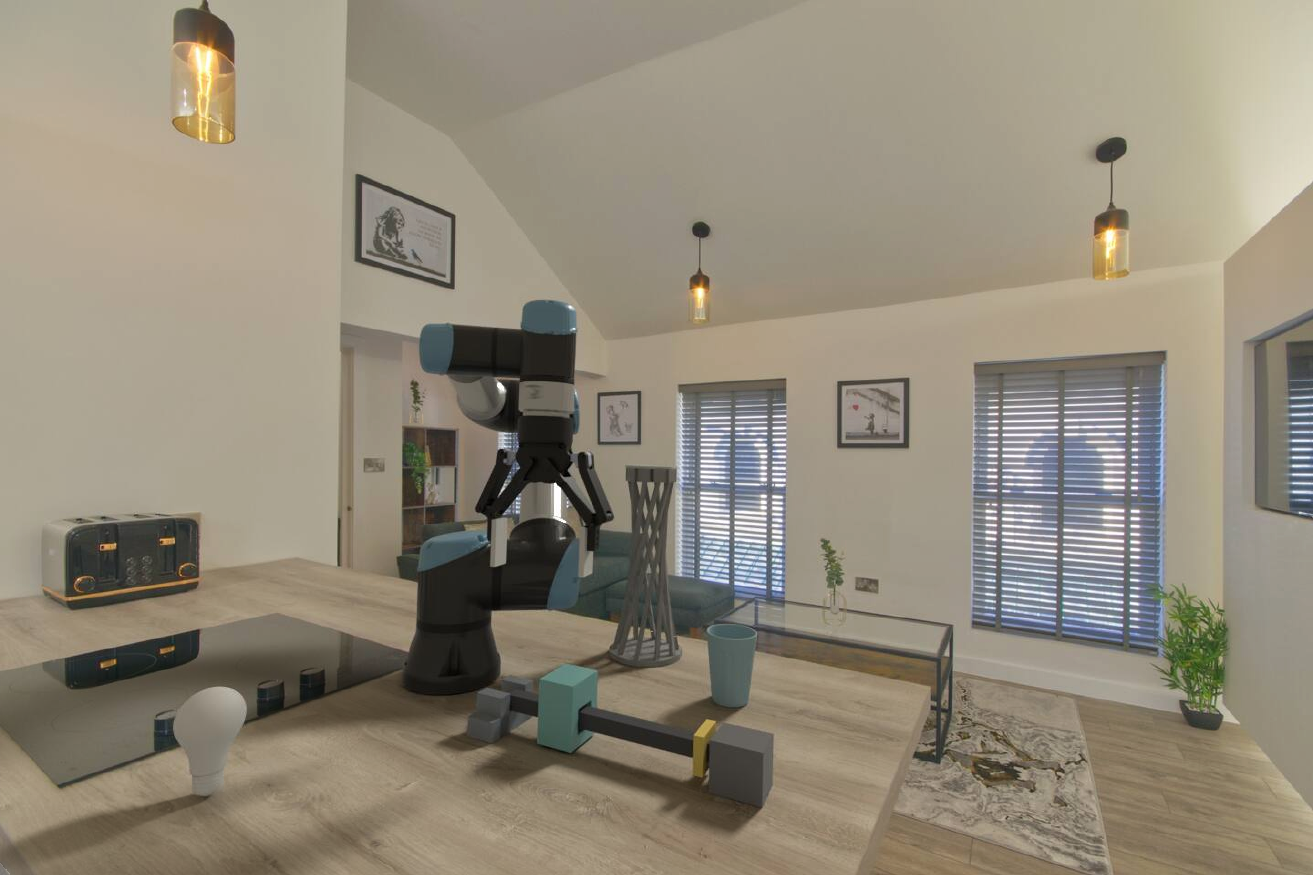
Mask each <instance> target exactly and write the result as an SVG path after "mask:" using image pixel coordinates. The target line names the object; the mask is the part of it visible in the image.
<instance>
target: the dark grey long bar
mask: <svg viewBox="0 0 1313 875" xmlns="http://www.w3.org/2000/svg"><path fill="white" fill-rule="evenodd" d="M538 704H539V693H537V692H533V693H532V692H528V691H524V690H520V689H515V690H514V691H512V692H510V710H511V711H515V712H519V713H522V714H526V715H530V716H532V717H535V718H538ZM578 728H580V729H584V730H587V731H591V732H595V733H596V734H600V735H603V736H608V737H610V738H615V739H618V740H622V741H627V742H630V743H634V744H637V745H640V746H641V745H642V746H645V747H649V748H653V749H656V750H661V751H665V752H668V753H672V754H676V755H680V756H684V757H687V758H690V759H692V776H695V777H698V778H704V777H705V775H706V774H707V772H709V756H710V739H711V738H712V737H713V735H714V734H715V733H716V731H717V721H716V720H711V719H705V721H703V722H702V724H701V725H700V727H699V728H698V729H697V730H696V731H694V730H690V729H685V728H681V727H676V726H672V725H669V724H664V723H660V722H657V721H652V720H648V719H643V718H639V717H635V716H630V715H627V714H623V713H618V712H615V711H611V710H607V709H602V708H598V707H597V708H594V707H590V706H586V705H584V706H582V707H581V708H580V709H578ZM595 733H594V734H595Z"/></svg>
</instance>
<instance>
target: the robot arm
mask: <svg viewBox="0 0 1313 875" xmlns="http://www.w3.org/2000/svg"><path fill="white" fill-rule="evenodd" d="M521 313H522V314H521V321H520V325H519V326H520V328H505V327H493V326H491V327H490V326H481V325H479V326H477V325H470V324H469V325H466V324H455V323H454V324H453V323H449V322H446V323H427V324H425V325H424V326H423V327H422V329H421V332H420V335H419V340H418V341H419V342H418V343H419V344H418V354H419V356H418V357H419V362H420V363H419V364H420V367H421V369H422V370H423V372H425V373H427V374H430V375H431V374H432V375H438V376H447V378H448V380H449V381H450V383H451V385H452V387H453V388H454V390H455V391H454V392H456V396H455V397H456V403H457V406H458V408H459V410H460V412H461V413H462V414H463V415H464V416H465V417H466V418H467V419H468V420H470V421H471V422H473V423H474V424H477V425H478V426H480V427H482V428H486V429H488V430H491V431H495V432H499V433H508V434H509V433H510V434H516V436H517V437H516V439H517V442H518V448H517V450H514V449H512V448H499V449H497V452H496V457H495V458H496V459H495V465H494V466H493V469H492V472H491V473H490V474H489V475H490V476H489V477H488V480H487V481H486V484H485V486H484V488H483V489H482V492H481V494H480V496H479V498H478V500H477V503H476V505H475V507H474V509H475V510H474V511H475V512H476V514H481V515H483V516H485V517H486V520H487V526H486V527H487V528H486V529H472V530H471V529H470V530H469V529H468V530H462V531H456V532H451V533H445V534H442V535H441V534H440V535H437V536H433V537H431V538H429V539H427V540H425V541H424V542H423V543H422V544H421V547H420V550H419V558H418V566H417V568H416V572H417V595H416V625H415V633H414V635H413V638H412V640H411V644H410V647H409V650H408V654H407V658H406V659H405V660H404V662H403V664H402V670H401V673H402V674H401V685H402V686H403V687H404V688H406V689H407V690H409V691H412V692H414V693H419V694H424V695H451V694H452V695H453V694H454V695H455V694H461V693H466V692H470V691H474V690H478V689H481V688H483V687H485V686H488V685H490V684H492V683H493V682H495V681H496V680H497V679H498V678H499V677H500V675H501V670H502V669H501V668H502V665H501V663H502V662H501V660H502V658H501V656H500V653H499V652H498V647H497V645H496V644H497V643H496V640H495V636H494V632H493V628H492V617H493V616H492V614H493V613H492V612H499V611H500V612H502V611H503V612H504V611H505V612H506V611H507V612H508V611H511V612H512V611H514V612H515V611H545V610H546V611H548V612H552V611H554V610H565V609H571V608H573V606H575V605H576V604H577V602H578V599H579V594H580V593H579V592H580V586H581V584H580V583H581V578H585V577H588V576H590V575H592V574H593V569H594V568H593V566H594V552H596V551H598V550H599V547H600V536H601V533H600V531H601V526H602V525H603V524H606V523H607V524H608V523H609V522H612V521H614V518H615V516H614V512H613V510H612V507H611V505H610V503H609V500H608V497H607V495H606V492H605V490H604V487H603V485H602V484H601V481H600V478H599V476H598V473H597V471H596V469H595V456H594V453H593V452H592V451H580V452H578V453H574V452H573V450H572V447H573V446H572V444H573V441H574V440H573V439H574V435H577V434H578V433H579V429H580V420H581V414H580V413H581V412H580V401H579V394H578V392H577V388H576V387H575V371H576V370H575V369H576V356H577V355H576V354H577V352H576V351H577V333H578V329H579V328H578V326H577V324H578V323H577V310H576V308H575V307H574V306H573V305H572V304H570V303H567V302H565V301H561V300H555V299H553V300H552V299H535V300H529V301H527V302H526V303H524V305H523V306H522V312H521ZM503 378H504V379H503ZM515 463H517V465H518V466H519V468H518V469H517V471H516V472H515V473H514V474H513V476H512V477H511V480H510V482H509V483H508V484H507V486H505V488H504V489H503V487H504V485H505V483H506V481H507V479H508V477H509V475H510V472H511V470H512V468H513V465H515ZM573 464H574V466H575V468H577V469H578V472H579V476H580V478H581V480H582V483H583V486H584V487H585V490H586V493H587V495H588V498H589V499H588V498H587V496H586V495H585V493H584V492H583V491H582V489H581V487H580V486H579V485H578V483H577V482H576V478H575V476H574V475H573V474H572V472H571V471H570V468H571V467H572V465H573ZM519 495H520V501H519V502H520V503H519V504H520V506H519V518H518V519H519V520H518V523H516V524H515V526H513V527H512V528H511V531H510V533H509V537H508V519H509V518H508V517H504V516H505V513H506V512H507V510H508V509H509V508H510V506H511V505H513V503H514V501H515V500H516V499H517V498H518V496H519ZM568 500H569V502H570V504H571V505H572V507H573V508H574V510H575V511H576V512H577V515H579V517H580V518H581V520H582V521H583V522H584V524H585V525H583V526H580V527H579V537H577V535H576V531H575V529H574V527H573V526H572V525H571V524H570V523H569V522H568V507H567V506H568Z"/></svg>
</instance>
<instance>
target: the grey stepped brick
mask: <svg viewBox="0 0 1313 875" xmlns="http://www.w3.org/2000/svg"><path fill="white" fill-rule="evenodd" d="M515 689H520V690H524V691H528V692H532V693H534V680H533V679H529V678H524V677H521V676H516V675H511V674H510V675H508V676H506V677H504V678H503V679H501V690H497V689H494V688H489V687H485V688H483V689H481V690H479V691H477V693H476V712H474V713H471V714H470V715H469V716H467V731H466V732H467V733H466V737H469V738H472V739H475V740H478V741H481V742H484V743H485V742H486V743H488V744H493V743H495V742H496V741H498V740H499V739H500V738H503V736H505V735H507V734H508V733H510V732H511V731H513V730H514V729H516V728H517V727H519V726H520V725H521V724H523V723H524V722H526V721H528V720H529V719H531V718H532V717H533V716H530V715H526V714H522V713H519V712H515V711H511V710H510V692H512V691H514V690H515Z"/></svg>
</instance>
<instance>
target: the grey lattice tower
mask: <svg viewBox="0 0 1313 875" xmlns="http://www.w3.org/2000/svg"><path fill="white" fill-rule="evenodd" d="M624 467H625V482H627V484H628V485H627V486H628V491H629V497H630V507H631V509H630V511H631V513H630V514H631V554H630V560H629V566H628V567H629V568H628V573H627V579H626V580H627V581H626V585H625V586H626V587H625V593H624V599H623V605H622V609H621V613H620V617H619V620H618V624H617V628H616V632H615V636H614V641H613V643H611V645H610V646H609V648H608V649H609V650H608V651H609V658H611V659H613V660H615V661H617V663H618V662H619V664H620V663H621V665H626V666H631V667H637V668H638V667H639V668H655V667H662V666H669V665H672V664H674V663H677V662H679V661H680V660H681V658H682V656H683V648H682V647H681V645H680V644H679V641H678V636H677V631H676V626H675V622H674V621H675V620H674V617H673V611H672V610H673V609H672V606H671V595H670V594H671V593H670V585H669V584H670V583H669V575H668V562H667V554H666V553H667V540H668V539H667V536H668V519H669V516H668V515H669V508H670V503H671V499H672V498H671V497H672V493H673V487H674V483H677V477H678V476H677V473H678V471H677V469H678V466H677V465H660V464H659V465H656V464H654V465H653V464H652V465H651V464H625V466H624ZM638 483H641V488H640V491H639V486H638V485H639V484H638ZM648 483H653V486H654V487H653V490H652V494H651V497H650V492H649V487H648ZM661 483H663V490H662V493H661V490H660V487H661ZM644 505H646V510H647V512H646V516H645V512H644V508H645V506H644ZM655 508H656V510H655ZM654 510H655V511H656V514H655V517H654ZM649 527H650V528H649ZM649 529H650V530H651V534H649ZM641 532H642V533H641ZM644 547H645V548H644ZM644 549H645V550H646V551H645V553H644ZM653 550H655V553H653ZM639 565H640V572H639V570H638V569H639ZM648 567H649V568H650V572H651V573H650V576H649V581H648V574H647V570H648ZM657 570H658V571H657ZM642 589H643V591H644V598H645V601H644V606H643V611H642V612H643V613H642V618H641V621H640V626H639V599H640V595H641V592H642ZM653 590H655V591H654V592H655V594H656V599H657V600H656V601H657V602H656V616H655V618H656V620H654V613H653V607H652V594H653ZM631 595H632V600H631ZM630 600H631V603H630ZM629 606H630V607H629ZM647 620H648V621H647ZM647 622H648V623H649V628H650V630H649V631H650V637H648V636H644V635H645V630H646V625H647ZM662 626H663V631H664V635H665V638H662ZM631 628H632V635H633V636H632V637H629V635H630V632H631ZM651 631H653V632H651ZM674 636H676V637H674Z"/></svg>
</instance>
